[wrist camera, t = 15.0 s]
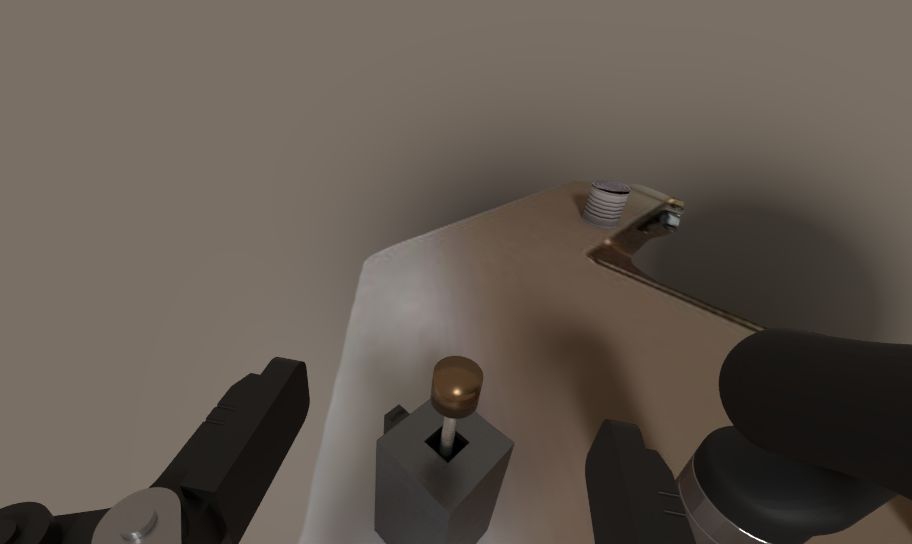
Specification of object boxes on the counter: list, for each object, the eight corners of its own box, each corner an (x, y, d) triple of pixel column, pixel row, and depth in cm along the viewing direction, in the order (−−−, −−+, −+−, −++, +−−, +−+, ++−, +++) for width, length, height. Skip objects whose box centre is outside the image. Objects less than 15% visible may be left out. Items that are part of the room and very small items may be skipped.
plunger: (478, 508, 44) (515, 375, 33) (436, 557, 40) (462, 423, 29) (434, 467, 47) (455, 334, 37) (391, 508, 43) (399, 371, 32)
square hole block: (487, 529, 47) (514, 443, 38) (432, 598, 40) (450, 513, 32) (414, 459, 53) (424, 371, 44) (357, 510, 47) (356, 419, 38)
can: (591, 228, 122) (604, 190, 116) (575, 212, 131) (585, 176, 125) (625, 229, 125) (639, 192, 118) (606, 213, 134) (618, 178, 128)
